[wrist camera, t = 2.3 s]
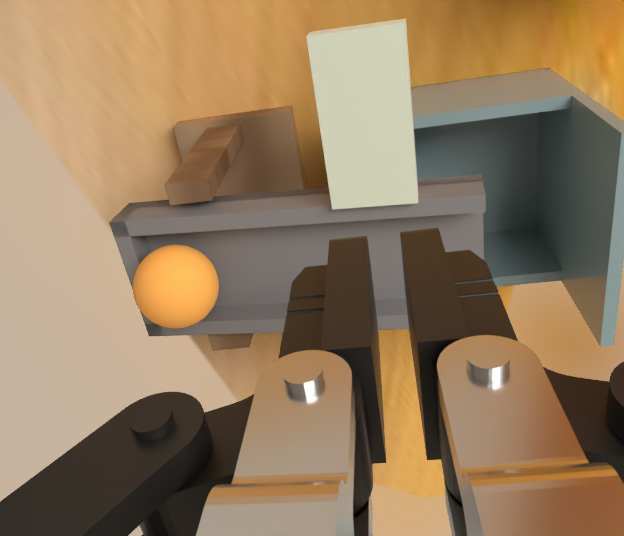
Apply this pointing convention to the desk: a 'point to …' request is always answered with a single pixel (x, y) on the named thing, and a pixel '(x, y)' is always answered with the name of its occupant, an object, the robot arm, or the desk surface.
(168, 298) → the ball
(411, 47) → the desk surface
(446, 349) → the robot arm
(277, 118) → the stand
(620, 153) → the grey open bin
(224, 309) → the lever
